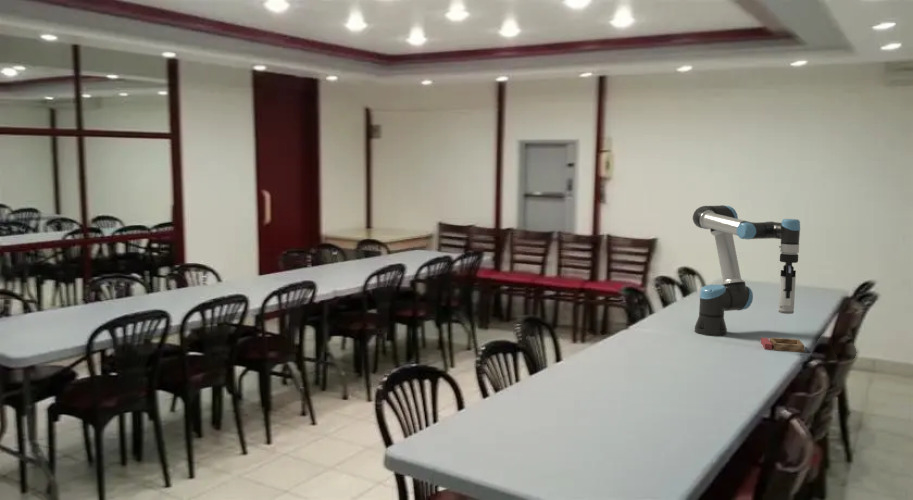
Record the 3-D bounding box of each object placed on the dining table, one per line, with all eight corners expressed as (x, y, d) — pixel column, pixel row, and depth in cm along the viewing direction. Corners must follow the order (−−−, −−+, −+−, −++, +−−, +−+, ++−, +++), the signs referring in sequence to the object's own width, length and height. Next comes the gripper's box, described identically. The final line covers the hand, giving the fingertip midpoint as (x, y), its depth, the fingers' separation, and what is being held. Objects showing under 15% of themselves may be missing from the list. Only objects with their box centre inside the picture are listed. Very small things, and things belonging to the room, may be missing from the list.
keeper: (773, 350, 320) (774, 343, 320) (768, 343, 333) (769, 337, 332) (805, 352, 317) (805, 346, 317) (798, 345, 330) (799, 339, 329)
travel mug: (780, 313, 320) (782, 269, 318) (776, 311, 326) (779, 267, 324) (795, 314, 319) (797, 270, 316) (791, 311, 325) (794, 268, 323)
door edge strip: (764, 349, 322) (765, 343, 322) (760, 342, 334) (761, 337, 333) (772, 349, 321) (772, 344, 321) (767, 343, 333) (767, 338, 333)
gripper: (778, 250, 330) (775, 300, 332) (781, 255, 312) (779, 307, 315) (796, 251, 327) (793, 301, 330) (800, 256, 310) (797, 308, 312)
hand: (786, 303), depth 322 cm, fingers closed on travel mug, 6 cm apart
